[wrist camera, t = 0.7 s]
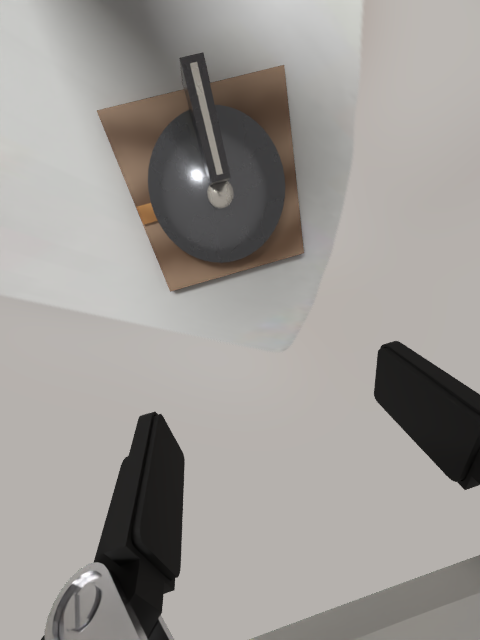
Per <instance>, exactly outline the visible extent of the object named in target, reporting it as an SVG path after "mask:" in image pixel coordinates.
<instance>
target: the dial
mask: <svg viewBox="0 0 480 640" xmlns="http://www.w3.org/2000/svg"><path fill="white" fill-rule="evenodd" d="M180 66H181V76H182V84H183V87H184V91H185V95H186V99H187V103H188V106H189V110H187V111H186V112H184V113H182V114H180V115H179V116H177V117H176V118H175V119H174V120H172V121H171V122H170V123H169V125H168V126H167V127H166V128H165V129H164V130H163V132H162V133H161V135H160V136H159V138H158V140H157V142H156V144H155V146H154V148H153V151H152V155H151V158H150V163H149V169H148V190H149V196H150V201H151V205H152V208H153V211H154V214H155V216H156V218H157V220H158V222H159V224H160V226H161V227H162V229H163V231H164V232H165V233H166V234H167V236H168V237H169V238H170V239H171V240H172V241H173V242H174V243H175V244H176V245H177V246H178V247H179V248H180V249H182V250H183V251H185V252H186V253H188V254H189V255H191V256H194V257H196V258H198V259H201V260H204V261H209V262H217V263H223V262H231V261H236V260H239V259H242V258H244V257H246V256H248V255H250V254H252V253H253V252H255V251H256V250H258V249H259V248H260V247H261V246H262V245H263V244H264V243H265V242H266V241H267V240H268V239H269V237H270V236H271V234H272V233H273V231H274V230H275V228H276V226H277V224H278V222H279V219H280V216H281V213H282V210H283V206H284V199H285V176H284V170H283V166H282V162H281V159H280V156H279V154H278V151H277V149H276V147H275V145H274V143H273V141H272V140H271V138H270V137H269V135H268V134H267V133H266V131H265V130H264V129H263V128H262V127H261V126H260V125H259V124H258V123H257V122H256V121H255V120H253V119H252V118H251V117H249V116H248V115H246V114H245V113H243V112H241V111H239V110H237V109H234V108H231V107H227V106H222V105H215V104H214V99H213V95H212V90H211V85H210V81H209V76H208V72H207V67H206V63H205V58H204V54H203V53H199V54H195V55H191V56H186V57H182V58H180Z"/></svg>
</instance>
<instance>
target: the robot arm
mask: <svg viewBox="0 0 480 640" xmlns="http://www.w3.org/2000/svg"><path fill="white" fill-rule="evenodd" d="M374 396H375V399H376V401H377V402H378V403H379V404H380V405H381V406H382V407H383V408H384V409H385V411H386V412H387V413H388V414H389V415H390V416H391V417H392V418H393V419H394V420H395V421H396V422H397V423H398V424H399V425H400V426H401V428H403V430H404V431H405V432H406V433H407V434H408V435H409V436H410V437H411V438H412V439H413V440H414V441H415V442H416V444H417V445H418V446H419V447H420V448H421V449H422V450H423V451H424V452H425V453H426V454H427V455H428V456H429V457H430V458H431V459H432V461H434V463H436V465H437V466H438V467H439V468H440V469H441V470H442V471H443V472H444V473H445V474H446V475H447V476H448V477H449V478H450V479H451V480H453V481H455V482H458V483H459V484H460V485H461V486H462V487H463V489H465V490H466V489H469V488H472V487H475V486H478V485H480V395H479V394H478V393H476V392H475V391H473V390H472V389H470V388H469V387H467V386H466V385H464V384H463V383H461V382H460V381H458V380H457V379H455V378H454V377H452V376H451V375H449V374H448V373H446V372H445V371H443V370H441V369H440V368H438V367H437V366H435V365H434V364H432V363H431V362H429V361H428V360H426V359H424V358H423V357H422V356H420V355H418V354H417V353H416V352H414V351H412V350H411V349H410V348H408V347H406V346H405V345H403V344H402V343H400V342H398V341H394V342H390V343H387V344H384V345H382V346H381V348H380V350H379V351H378V357H377V368H376V379H375V389H374ZM183 486H184V455H183V452H182V450H181V449H180V447H179V445H178V443H177V441H176V439H175V438H174V436H173V434H172V432H171V430H170V428H169V427H168V425H167V423H166V421H165V419H164V418H163V416H162V415H161V414H159V415H158V414H157V413H156V412H152V413H149V414H145V415H142V416H140V417H139V419H138V423H137V427H136V430H135V434H134V438H133V442H132V445H131V449H130V453H129V456H128V457H126V458H125V459H124V460H123V462H122V465H121V468H120V471H119V475H118V479H117V482H116V486H115V489H114V493H113V496H112V500H111V503H110V507H109V510H108V514H107V518H106V521H105V525H104V528H103V531H102V536H101V539H100V542H99V546H98V550H97V553H96V556H95V560H94V563H91V564H88V565H86V566H85V567H83V568H81V569H80V570H78V572H77V573H75V574H74V575H73V576H72V577H71V578H70V579H69V581H68V582H67V583H66V584H65V586H64V587H63V588H62V589H61V591H60V593H59V595H58V596H57V598H56V600H55V601H54V603H53V606H52V608H51V611H50V613H49V616H48V619H47V623H46V628H45V635H44V636H43V638H42V639H41V640H174V639H173V637H172V635H171V633H170V631H169V629H168V628H167V626H166V624H165V622H164V620H163V618H162V617H161V613H162V604H163V594H165V593H167V592H170V591H173V590H174V587H175V578H176V577H178V576H179V573H180V565H181V540H182V514H183V488H184V487H183ZM250 640H480V555H479V556H476V557H473V558H470V559H468V560H465V561H462V562H459V563H456V564H454V565H451V566H448V567H445V568H443V569H440V570H437V571H435V572H431V573H429V574H426V575H424V576H420V577H418V578H415V579H412V580H410V581H407V582H404V583H401V584H399V585H396V586H393V587H390V588H388V589H385V590H382V591H379V592H377V593H374V594H371V595H369V596H366V597H363V598H360V599H358V600H355V601H352V602H349V603H347V604H344V605H341V606H338V607H336V608H333V609H330V610H328V611H325V612H322V613H319V614H317V615H314V616H311V617H309V618H306V619H303V620H301V621H298V622H296V623H293V624H290V625H287V626H284V627H282V628H279V629H276V630H274V631H271V632H268V633H266V634H263V635H260V636H258V637H255V638H252V639H250Z"/></svg>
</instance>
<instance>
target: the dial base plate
mask: <svg viewBox="0 0 480 640" xmlns="http://www.w3.org/2000/svg"><path fill="white" fill-rule="evenodd" d="M210 85H211V90H212V95H213V99H214V104H215V105H222V106H227V107H231V108H234V109H237V110H239V111H241V112H243V113H245V114H246V115H248V116H249V117H251V118H252V119H253V120H255V121H256V122H257V123H258V124H259V125H260V126H261V127H262V128H263V129H264V130H265V131H266V133H267V134H268V135H269V137H270V138H271V140H272V141H273V143H274V145H275V147H276V149H277V151H278V154H279V156H280V159H281V162H282V166H283V170H284V176H285V199H284V206H283V210H282V213H281V216H280V219H279V222H278V224H277V226H276V228H275V230H274V231H273V233H272V234H271V236H270V237H269V239H268V240H267V241H266V242H265V243H264V244H263V245H262V246H261V247H260V248H259V249H258V250H256V251H255V252H253V253H252V254H250V255H248V256H246V257H244V258H242V259H239V260H236V261H231V262H223V263H217V262H209V261H204V260H201V259H198V258H196V257H194V256H191V255H189V254H188V253H186V252H185V251H183V250H182V249H180V248H179V247H178V246H177V245H176V244H175V243H174V242H173V241H172V240H171V239H170V238H169V237H168V236H167V234H166V233H165V232H164V231H163V229H162V227H161V226H160V224H159V222H158V220H157V218H156V216H155V214H154V211H153V208H152V205H151V201H150V196H149V190H148V169H149V163H150V158H151V155H152V151H153V148H154V146H155V144H156V142H157V140H158V138H159V136H160V135H161V133H162V132H163V130H164V129H165V128H166V127H167V126H168V125H169V123H170V122H171V121H172V120H174V119H175V118H176V117H177V116H179V115H180V114H182V113H184V112H186V111H187V110H189V106H188V103H187V99H186V95H185V91H184V89H183V90H179V91H175V92H171V93H167V94H163V95H159V96H155V97H150V98H146V99H142V100H138V101H134V102H130V103H126V104H122V105H118V106H114V107H109V108H105V109H101V110H97V112H98V115H99V117H100V120H101V122H102V125H103V127H104V130H105V132H106V135H107V137H108V140H109V142H110V144H111V147H112V149H113V152H114V154H115V157H116V159H117V162H118V164H119V167H120V169H121V171H122V174H123V176H124V179H125V181H126V184H127V186H128V189H129V191H130V194H131V196H132V199H133V201H134V203H135V206H136V208H137V211H138V213H139V216H140V218H141V221H142V223H143V226H144V228H145V231H146V233H147V235H148V238H149V240H150V243H151V245H152V248H153V250H154V253H155V255H156V258H157V260H158V262H159V265H160V267H161V270H162V272H163V275H164V277H165V280H166V282H167V285H168V287H169V290H170V291H174V290H177V289H181V288H184V287H188V286H191V285H195V284H198V283H202V282H205V281H209V280H212V279H216V278H219V277H223V276H226V275H230V274H233V273H236V272H240V271H243V270H247V269H250V268H254V267H257V266H261V265H264V264H268V263H271V262H275V261H278V260H282V259H285V258H289V257H292V256H296V255H299V254H303V253H304V249H303V240H302V230H301V221H300V211H299V202H298V192H297V183H296V173H295V164H294V154H293V145H292V135H291V126H290V116H289V107H288V97H287V88H286V78H285V69H284V65H282V66H278V67H274V68H269V69H265V70H261V71H257V72H253V73H249V74H245V75H241V76H237V77H233V78H228V79H224V80H220V81H216V82H212V83H210Z"/></svg>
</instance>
